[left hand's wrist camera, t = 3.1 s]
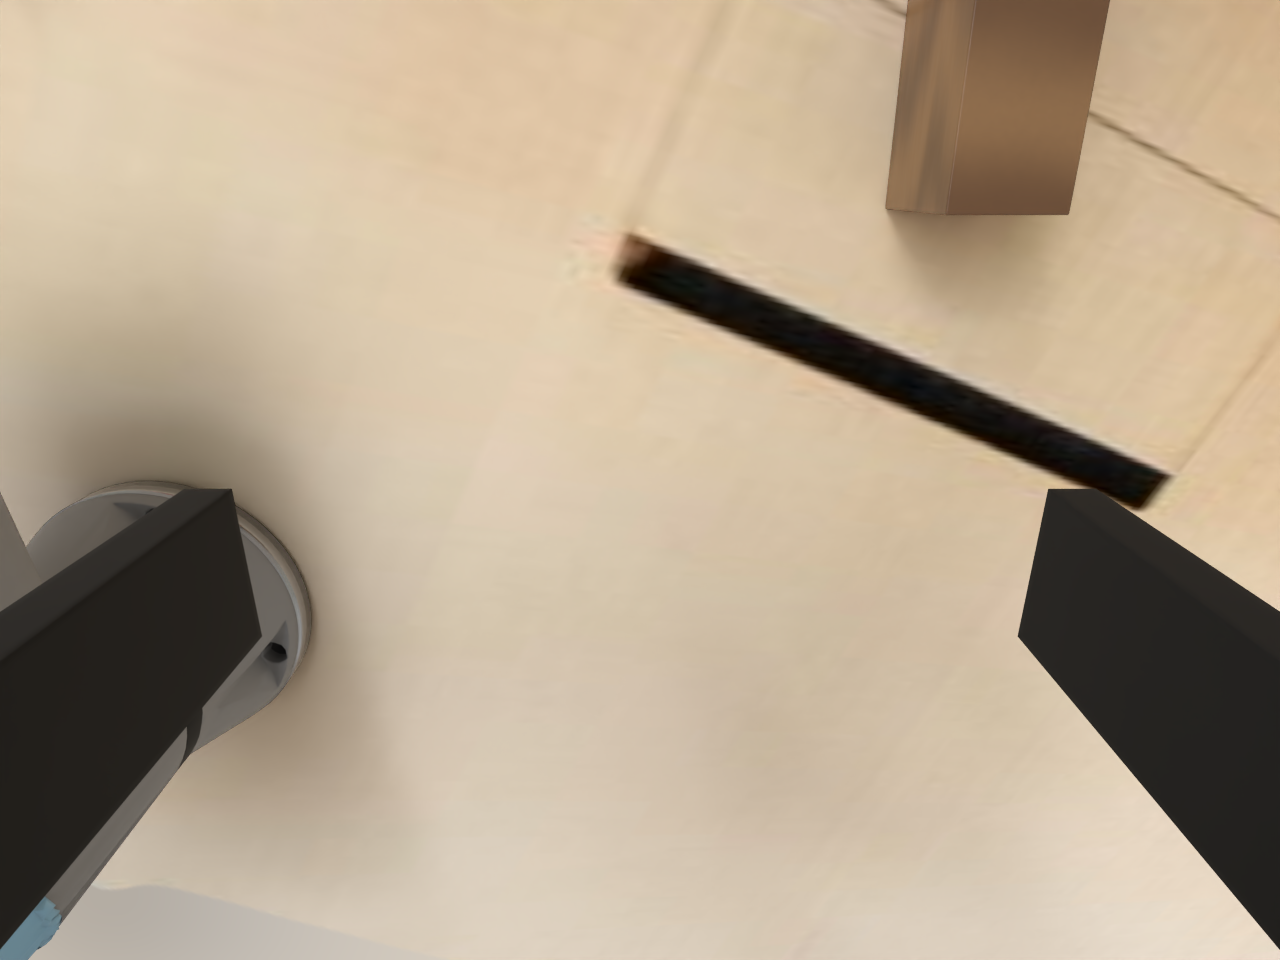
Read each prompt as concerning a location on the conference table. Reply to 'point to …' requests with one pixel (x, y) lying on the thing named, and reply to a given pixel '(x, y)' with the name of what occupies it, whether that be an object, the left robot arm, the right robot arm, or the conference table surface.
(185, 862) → the conference table surface
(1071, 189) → the bar
